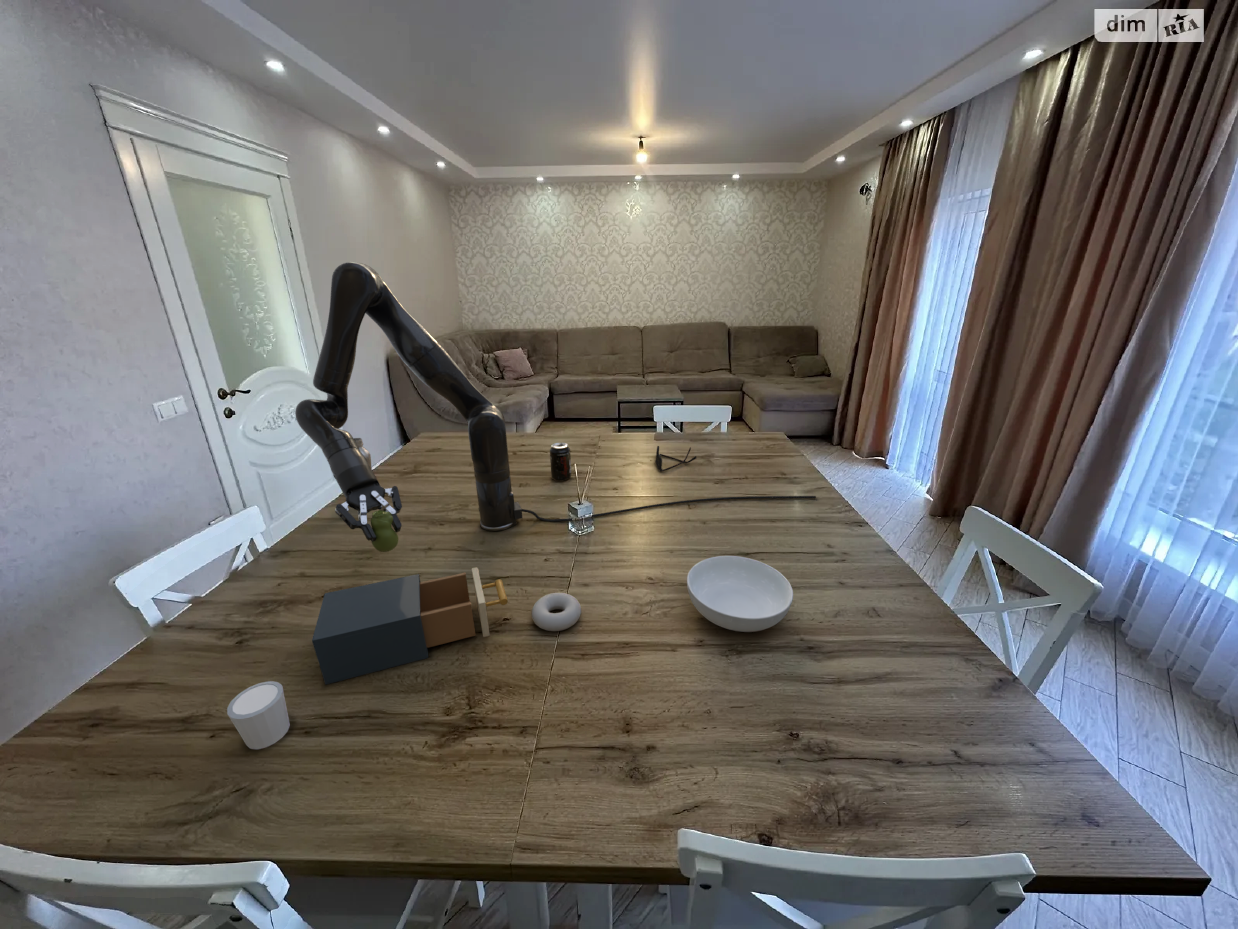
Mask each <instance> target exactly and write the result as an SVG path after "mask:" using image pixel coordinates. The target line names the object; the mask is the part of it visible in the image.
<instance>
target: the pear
mask: <svg viewBox="0 0 1238 929" xmlns="http://www.w3.org/2000/svg"><path fill="white" fill-rule="evenodd" d="M371 516H372V517H371V518H370V526H371V528H372V530H373V532H374V534H375V535H376V540H375V541H373V542H371V544H372V546H373V548H374V549H375V550H377V551H379V552H382V553H387V552H390V551H392V550H394V549H395V548H396V547H397V546H398V544H399V541H400V540H399V535H398V532H397V533H396V532H395V530H394V528H393V526H392V522H393V517H392V515H391V513H390V512H386V511H381V510H374V512H372V513H371Z"/></svg>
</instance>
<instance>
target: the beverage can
mask: <svg viewBox="0 0 1238 929" xmlns="http://www.w3.org/2000/svg"><path fill="white" fill-rule="evenodd" d="M571 456H572V454H571V448H570V446H569V443H567V442H555V443H552V444H551V448H550V449H549V462H550V476H551V478H552V480H555V481H557V482H566V481H567V480H569V479H570V478H572V459H571Z"/></svg>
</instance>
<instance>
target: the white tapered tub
mask: <svg viewBox="0 0 1238 929" xmlns="http://www.w3.org/2000/svg"><path fill="white" fill-rule="evenodd" d="M226 713H227V716H228V717H229V720H230V721H231V723H232V724H233V726H234V728H235V729H236V731H237V732H238V734H239V736H240V737H241V739H242V740H243V742H244V744H245V746H247V747H248V748H249V749H251V750H261V749H267V748H268V747H270V746H272V745H274V744H276V743H277V742H278V741H280V740H281V739H283V738H284V736H286V734H287V733H288V732H289V730H290V727H291V724H290V718H289V713H288V708H287V703H286V698H285V693H284V688H283V684H281V683H280V682H278V681H273V680H268V681H263V682H258V683H256V684H254V685H251V686H249V687H247V688H245V689H244V690H242V691H241V692H239V693H238V694H237V695H236V696H235V697H234V698H233V699H231V701H230V702H229V704H228V706H227V708H226Z"/></svg>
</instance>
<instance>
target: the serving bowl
mask: <svg viewBox="0 0 1238 929" xmlns="http://www.w3.org/2000/svg"><path fill="white" fill-rule="evenodd" d="M686 586H687V587H686V588H687V592H688V597H689V599H690V602H691V603H692V605H693V606H694V608H695V609H696V610H697V611H698V613H699V614H700V615H702V617H704V618H705V619H706V620H707V621H709V622H711V623H712V624H714V625H716V626H719V627H721V628H723V629H727V630H730V631H735V632H744V633H752V632H753V633H754V632H761V631H764V630H767V629H770V628H771V627H775V625H777V624H778V623H780V622H781V621H782V620H783V619H784V618H785V617H786V616H787V614H788V612H789V610H790V608H791V607H792V604H793V600H794V589H793V587H792V585H791V583H790V581H789V580H788V579H787V578H786V576H784V574H782V572H780V571H778V570H777V569H776V568H775V567H772V566H771V565H769V564H766V563H765V562H762V561H760V560H757V559H753V558H749V557H745V556H738V555H718V556H712V557H708V558H705V559H702V560H701V561H698V562H697V563H695V564H694V565H693V566H692V567H691V568H690V569H689V571H688V573H687V576H686Z"/></svg>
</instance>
